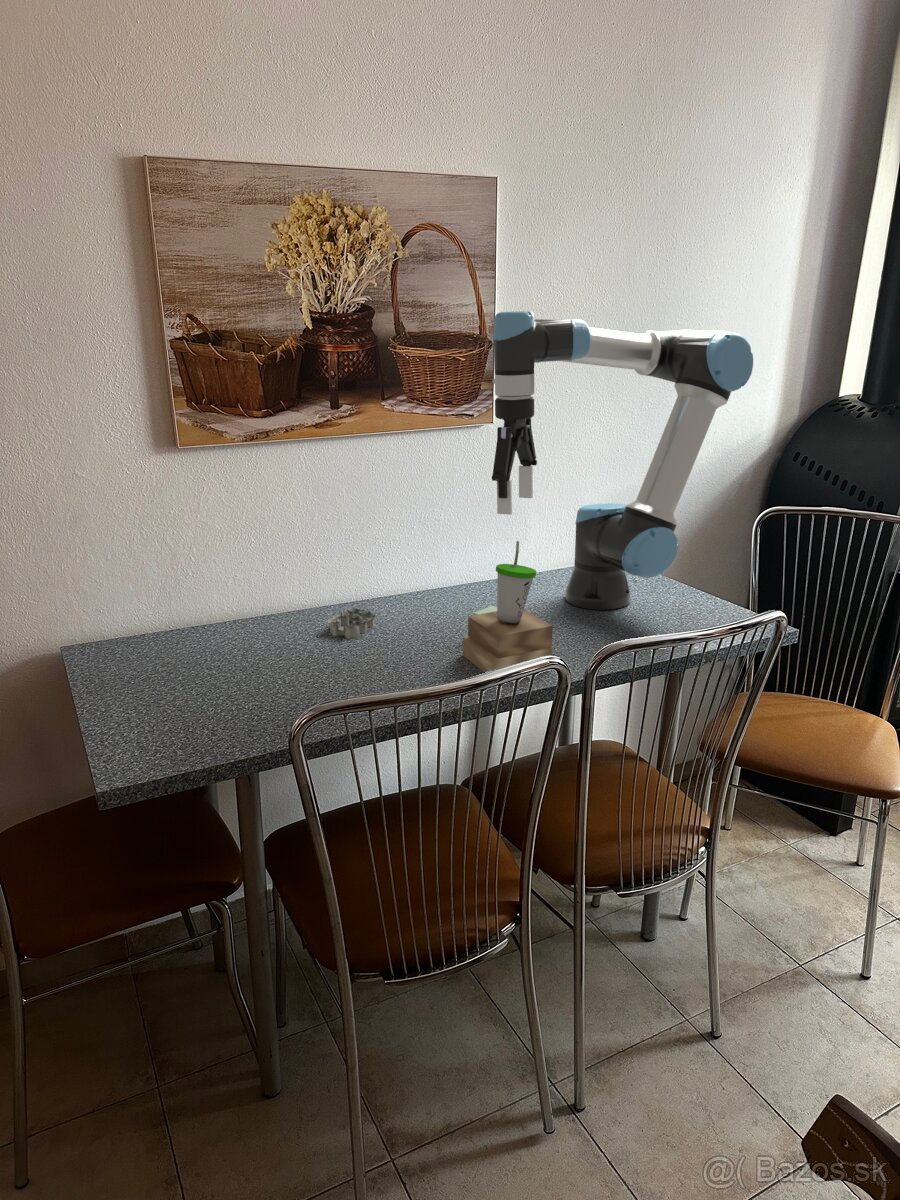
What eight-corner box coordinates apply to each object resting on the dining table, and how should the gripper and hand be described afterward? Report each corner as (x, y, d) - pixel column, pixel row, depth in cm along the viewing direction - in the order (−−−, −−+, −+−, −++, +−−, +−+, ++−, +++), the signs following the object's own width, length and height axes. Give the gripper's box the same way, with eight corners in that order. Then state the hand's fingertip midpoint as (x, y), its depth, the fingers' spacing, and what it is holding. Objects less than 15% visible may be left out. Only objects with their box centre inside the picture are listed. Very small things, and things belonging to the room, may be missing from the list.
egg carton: (353, 641, 182) (352, 623, 180) (324, 635, 185) (323, 617, 184) (380, 625, 190) (380, 608, 189) (352, 619, 194) (351, 602, 192)
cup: (517, 628, 162) (529, 550, 159) (481, 618, 166) (492, 542, 162) (535, 621, 169) (547, 546, 165) (500, 612, 172) (510, 538, 169)
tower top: (519, 627, 177) (520, 607, 175) (551, 647, 167) (552, 625, 165) (468, 637, 172) (468, 616, 170) (498, 658, 162) (498, 636, 160)
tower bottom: (519, 646, 179) (519, 626, 177) (551, 669, 168) (552, 648, 166) (462, 657, 174) (462, 636, 172) (493, 681, 163) (493, 659, 161)
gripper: (515, 388, 176) (516, 490, 183) (473, 405, 154) (476, 519, 162) (551, 389, 173) (551, 492, 181) (512, 405, 152) (514, 522, 159)
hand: (515, 505), depth 171 cm, fingers open, 13 cm apart
